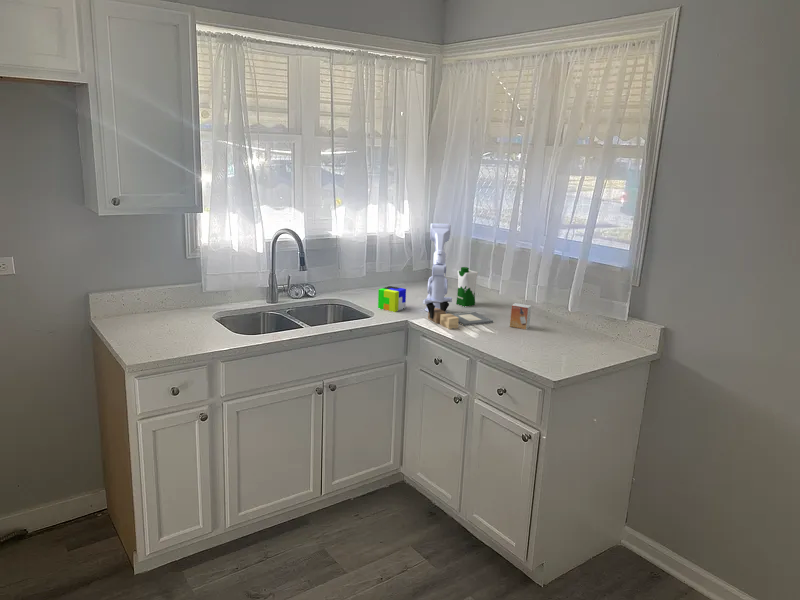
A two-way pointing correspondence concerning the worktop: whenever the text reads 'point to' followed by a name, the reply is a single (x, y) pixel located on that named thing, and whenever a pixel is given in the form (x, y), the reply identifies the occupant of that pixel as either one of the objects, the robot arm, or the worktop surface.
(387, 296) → the puzzle toy
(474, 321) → the board
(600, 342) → the worktop surface
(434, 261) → the robot arm
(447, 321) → the oak block
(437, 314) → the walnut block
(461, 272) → the milk carton
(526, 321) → the small box
